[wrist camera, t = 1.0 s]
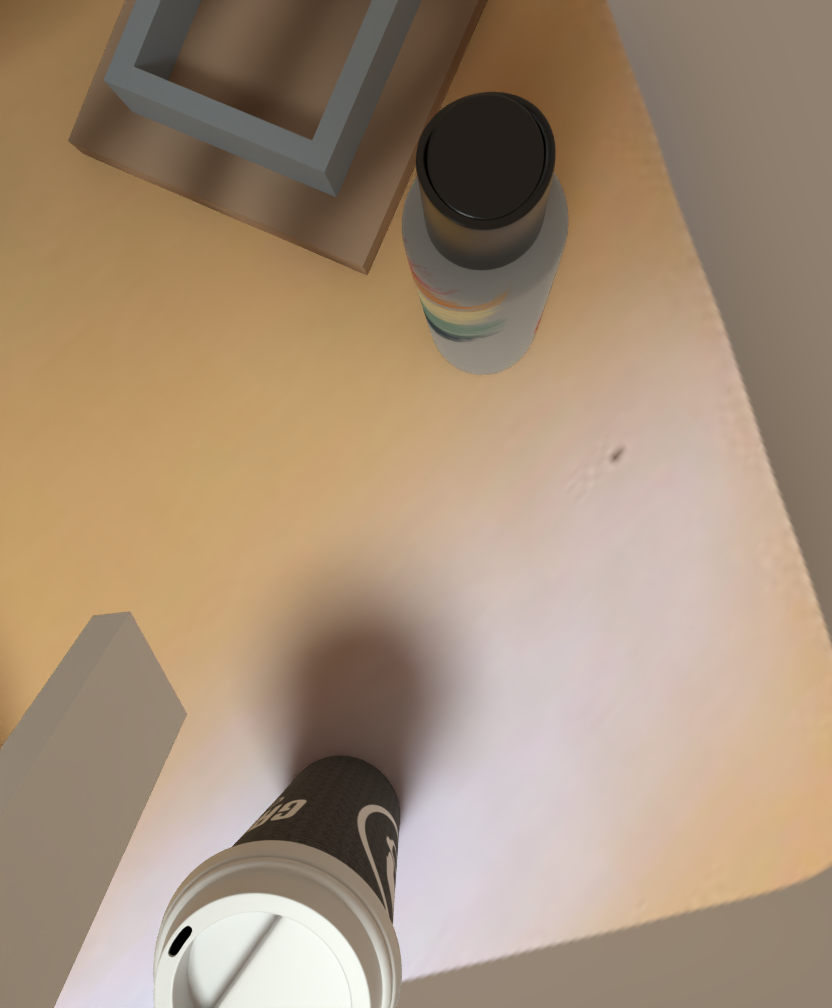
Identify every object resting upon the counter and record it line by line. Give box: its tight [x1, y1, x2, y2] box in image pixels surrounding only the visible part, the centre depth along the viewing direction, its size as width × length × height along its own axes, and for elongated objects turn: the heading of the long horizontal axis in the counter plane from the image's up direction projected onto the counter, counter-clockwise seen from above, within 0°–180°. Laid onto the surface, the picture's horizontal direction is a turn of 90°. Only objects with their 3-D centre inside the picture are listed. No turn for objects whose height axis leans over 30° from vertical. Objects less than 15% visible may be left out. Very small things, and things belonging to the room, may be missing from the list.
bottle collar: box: [104, 0, 421, 197], centre depth 37 cm, size 12×12×3 cm
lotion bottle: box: [402, 92, 568, 375], centre depth 29 cm, size 6×6×20 cm
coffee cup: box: [153, 756, 402, 1008], centre depth 33 cm, size 10×10×15 cm
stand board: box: [68, 0, 487, 275], centre depth 39 cm, size 18×18×2 cm
